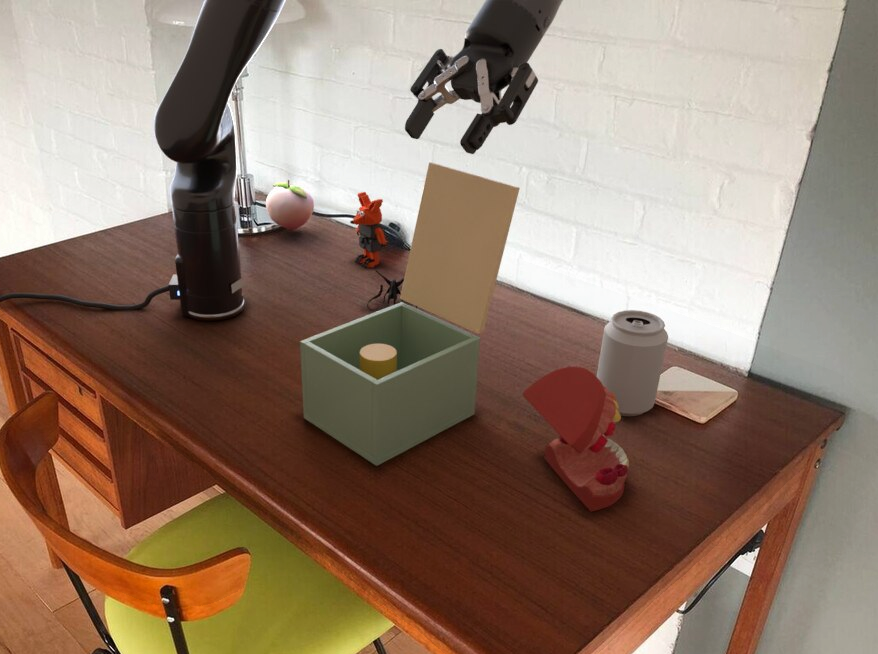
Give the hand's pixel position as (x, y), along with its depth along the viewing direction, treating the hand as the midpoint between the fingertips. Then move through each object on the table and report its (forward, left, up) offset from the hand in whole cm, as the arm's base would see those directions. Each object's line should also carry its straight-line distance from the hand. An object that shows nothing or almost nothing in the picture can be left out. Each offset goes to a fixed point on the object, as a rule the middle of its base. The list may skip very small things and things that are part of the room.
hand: (437, 141), depth 91 cm
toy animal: (-7, +46, -33) cm, 57 cm away
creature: (-3, +28, -33) cm, 43 cm away
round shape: (-7, -5, -28) cm, 29 cm away
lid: (+3, +2, -13) cm, 14 cm away
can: (+25, -2, -33) cm, 41 cm away
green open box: (-5, -4, -33) cm, 34 cm away
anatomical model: (+15, -18, -33) cm, 41 cm away
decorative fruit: (-21, +63, -33) cm, 74 cm away
